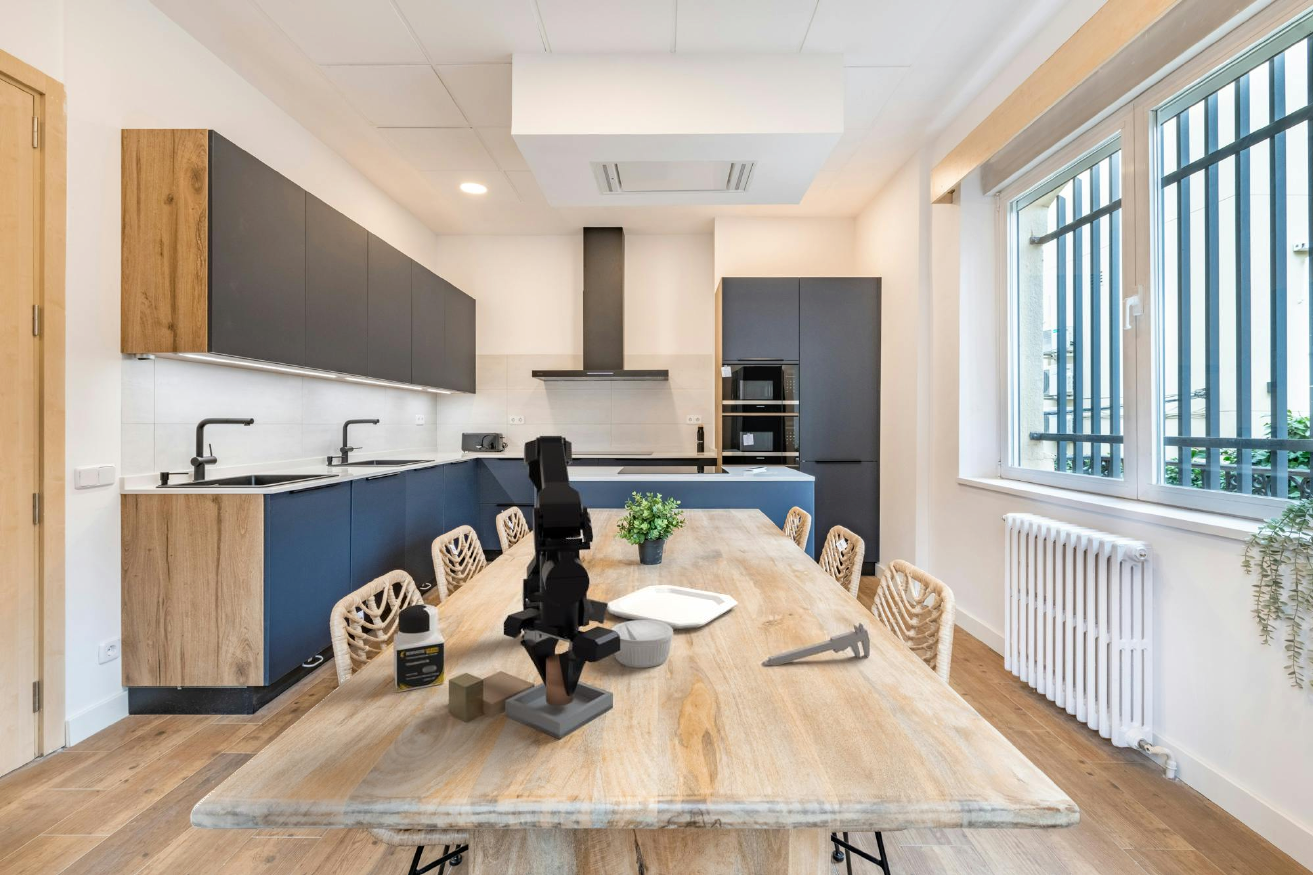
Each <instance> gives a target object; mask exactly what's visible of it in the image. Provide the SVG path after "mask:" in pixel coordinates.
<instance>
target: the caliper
mask: <svg viewBox="0 0 1313 875" xmlns="http://www.w3.org/2000/svg"><path fill="white" fill-rule="evenodd" d="M853 629H854V631H853V630H851V631H846V632H844V633H839V634H837V635H834V636H830V638H829V639H827V640H824V641H821V642H817V643H813V644H810V645H807V646H802V647H799V648H796V649H793V650H788V651H786V652H781V653H778V654H775V655H771V656H768V659H767V660H764V661H762V662H761V664H762V665H763V666H764V667H767V666H770V665H771V666H780V665H783V664H787V663H791V662H793V661H797V660H801V659H805V658H808V657H811V656H815V655H819V654H823V653H826V652H829V651H833V652H834V653H835V654H837V653H839V652H844V651H846V650H847V649H848V648H850V649H851V652H852V653H853V654H854V656H855V657H856V656H857V658H858V657H861V651H860V647H859V644H858V643H860V642H861V647H862V651H863V655H864V656H865V655H866V656H868V657H869V656H870V652H871V648H870V647H871V645H870V644H871V643H870V642H871V640H870V637H869V633H868V629H866V628H864V625H863V624H862V623H861V622H859V623H858V626H857V625H855V624H853ZM866 656H865V657H866Z"/></svg>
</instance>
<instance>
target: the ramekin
mask: <svg viewBox="0 0 1313 875" xmlns="http://www.w3.org/2000/svg"><path fill="white" fill-rule="evenodd" d="M611 630H614V631H616V632H617V633H618V634H619V635H620V651H618V652H616V653H614V656H615V658H616V660H617V661H618V662H619V664H621V665H623V666H625V667H630V668H637V669H644V668H645V669H646V668H651V667H652V668H653V667H657V666H659V665H662V664H663V663H664V662H665V661H666V660H667V659H668V658H669V655H670V650H671V645H672V639H673V636H674V629H672V628H671V627H670V626H669V625H668V624H665V623H663V622H658V621H651V620H630V621H629V620H628V621H624V622H620V623H618V624H616V625H614V626H613V627H612V628H611Z"/></svg>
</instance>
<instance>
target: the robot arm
mask: <svg viewBox="0 0 1313 875" xmlns="http://www.w3.org/2000/svg"><path fill="white" fill-rule="evenodd" d="M523 446H524V447H523V466H526V467H527V476H528V478H529V480H530V482H532V485H533V486H534V488H535V502H534V504H535V506H534V507H533V508H532V534H533V547H534V556H533V557H532V559H531V560H530V562H529V563H528V565H527V566H526V578H523V579H522V593H521V594H522V609H523V610H521V611H516V612H514V613H511V614H508V615H507V616H506V618H505V620H504V621H503V636H506V637H509V638H510V637H511V638H512V639H518V638H519V637H520V636H521V638H522V639H523V640H522V639H521V640H520V641H519V643H520V646H522V647H523V648H524V650H525V651H526V653H527V654H528V656H529V658H530V660H531V661H532V663H533V665H534V666H535V669H536V671H537V673H538V674H539V676H540V678H541V681H542V683H544V685H545V687H546V658H547V657H549V656H551V655H554V654H556V647H557V645H558V643H559V641H563V642H566V643H568V644H569V645H568V647H567V650H566V651H564V652H561V653H558V654H559V655H558V656H559V662H560V666H561V672H562V677H563V682H564V687H565V690H566V694H567V696H571V695H573V694H574V692H575V689H576V687H577V684H578V681H580V678H581V675H582V672H583V671H584V670H583V669H584V667H585V665H586V663H587V662H588V663H597V662H599V661H601V660H603V659H606V658H607V657H609V656H612V655H615V653H616V652H618V651H620V635H619V634H618V633H617V632H616V631H614V630H611V629H612V628H611V629H610V628H606V627H602V626H598V625H597V626H595V627H593V628H590V629H588V630H585V631H582V630H580V627H583V628H584V627H586V626H589V625H590V622H596V623H599V624H601V625H604V623H605V618H606V614H607V611H608V608H607V605H608V603H609V602H604V601H599V600H595V599H591V598H588V595H587V593H588V591H589V588H590V582H591V581H590V577H589V576H590V575H589V573H588V571H587V569H586V567H585V566H584V564H583V563H582V561H581V556H580V554H581V553H580V551H587V550H588V551H589V550H591V543H593V542H594V533H593V527H592V526H593V525H592V520H591V513H590V512H588V507H587V506H586V505H583V501H582V498H581V493H580V492H579V491H578V490H576V489H575V488H573V487H572V486H571V483H570V478H569V477H570V476H569V471H568V466H570V465H571V464H572V463H573V450H572V449H573V446H572V441H569V440H567V438H566V436H563V435H540V436H539V437H535V439H533V440H528V441H526V442H525V443H524V445H523ZM581 536H582V537H581ZM522 632H523V633H522Z"/></svg>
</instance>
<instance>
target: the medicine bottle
mask: <svg viewBox="0 0 1313 875" xmlns="http://www.w3.org/2000/svg"><path fill="white" fill-rule="evenodd" d="M397 617H398V618H397V619H398V624H397V625H398V633H395V634H393V679H394V686H395V691H396V692H397V693H401V692H406V691H412V690H419V689H423V688H428V687H432V686H438V685H443V684H444V683H445V640H444V638H443V636H442V634H441V631H440V629H439V609H438V607H436V606H435V605H432V604H424V603H423V604H413V605H410V606H407V607H405V608H403V609H401V610H400V611H399V613H398V616H397Z"/></svg>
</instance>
